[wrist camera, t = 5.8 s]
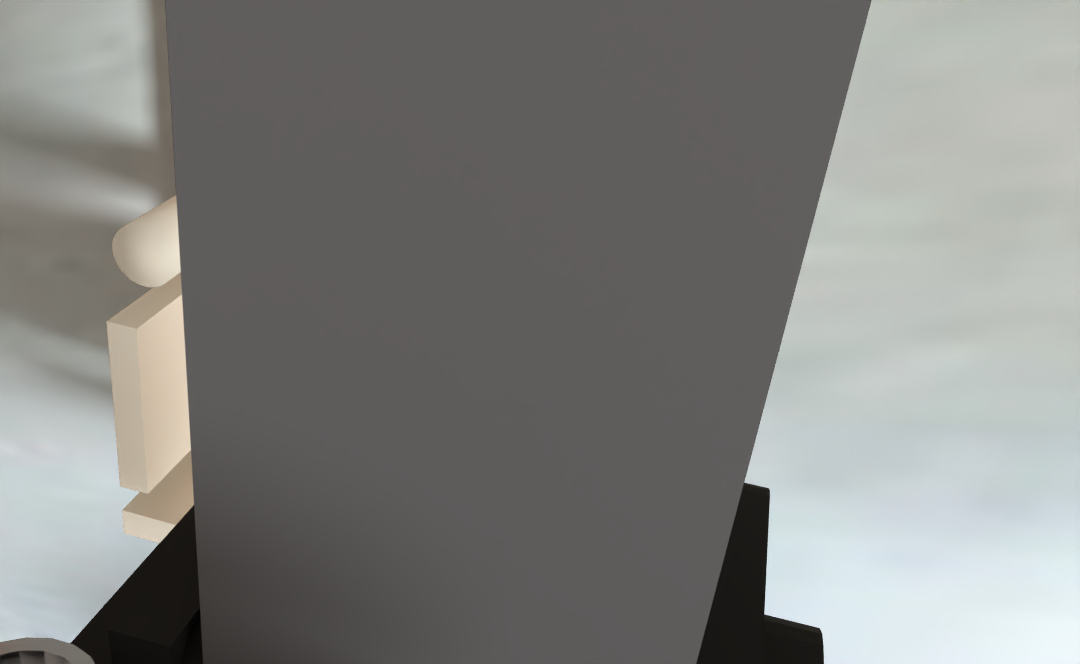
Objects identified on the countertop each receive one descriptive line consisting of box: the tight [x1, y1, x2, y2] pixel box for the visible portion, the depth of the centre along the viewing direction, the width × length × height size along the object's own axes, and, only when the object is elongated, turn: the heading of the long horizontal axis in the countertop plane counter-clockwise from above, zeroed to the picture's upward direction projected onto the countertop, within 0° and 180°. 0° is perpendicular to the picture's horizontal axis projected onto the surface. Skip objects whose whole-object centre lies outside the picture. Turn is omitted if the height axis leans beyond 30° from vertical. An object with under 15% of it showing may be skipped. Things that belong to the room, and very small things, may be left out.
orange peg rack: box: [106, 195, 194, 543], centre depth 23 cm, size 26×10×6 cm, turn 172°
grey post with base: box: [165, 0, 871, 664], centre depth 9 cm, size 23×5×5 cm, turn 173°
